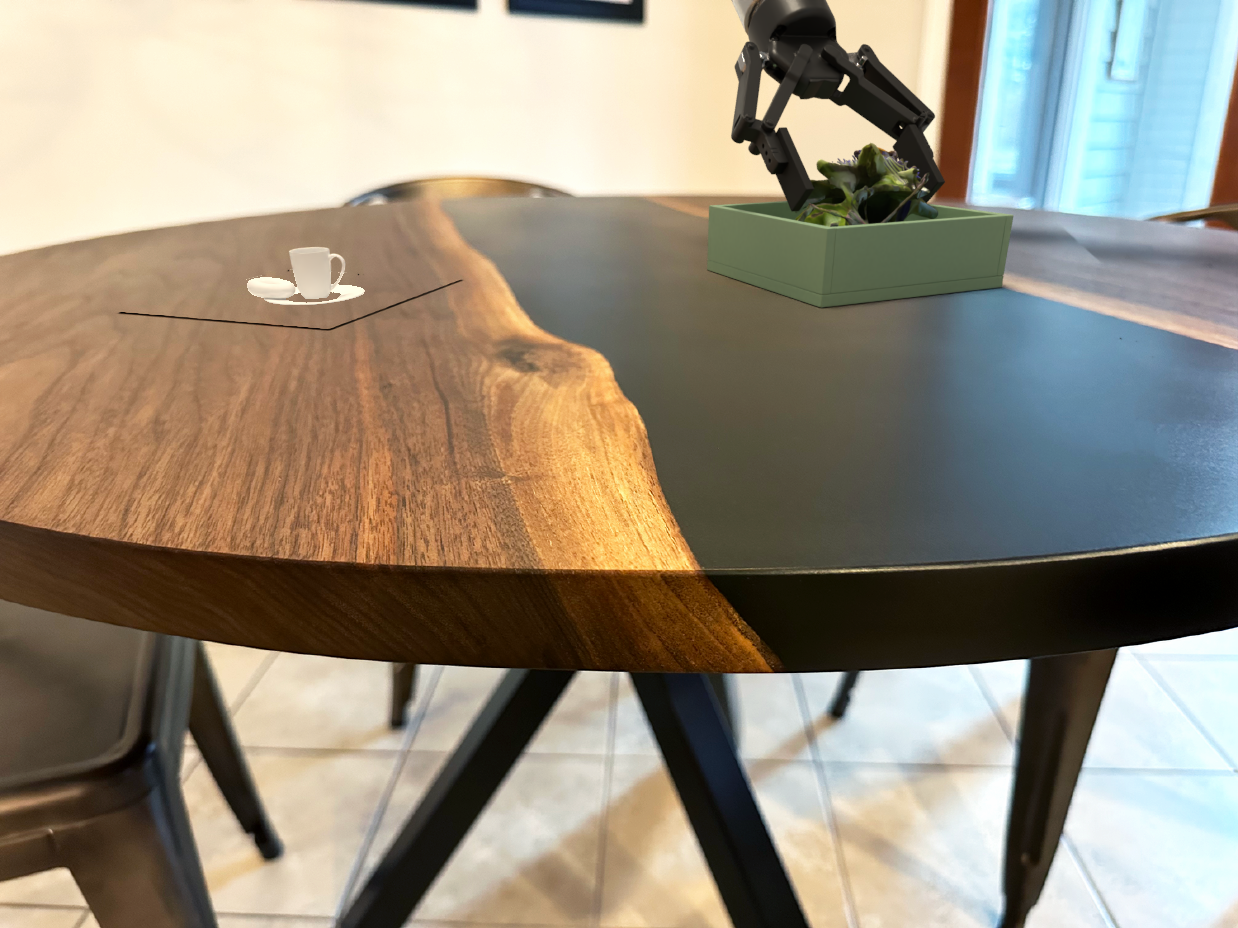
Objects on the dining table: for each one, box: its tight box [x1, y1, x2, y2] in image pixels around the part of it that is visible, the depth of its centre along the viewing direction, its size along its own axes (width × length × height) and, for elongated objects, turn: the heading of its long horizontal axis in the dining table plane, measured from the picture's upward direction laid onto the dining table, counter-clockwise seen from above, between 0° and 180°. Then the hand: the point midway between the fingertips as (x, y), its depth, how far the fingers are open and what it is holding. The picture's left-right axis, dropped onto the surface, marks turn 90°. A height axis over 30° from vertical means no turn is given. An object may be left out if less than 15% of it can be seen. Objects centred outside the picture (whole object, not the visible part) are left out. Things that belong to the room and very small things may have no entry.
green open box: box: [706, 200, 1014, 309], centre depth 75 cm, size 19×19×6 cm
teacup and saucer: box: [247, 246, 365, 305], centre depth 69 cm, size 9×8×4 cm
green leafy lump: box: [795, 142, 938, 227], centre depth 73 cm, size 11×11×12 cm
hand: (870, 197), depth 72 cm, fingers closed on green leafy lump, 13 cm apart
